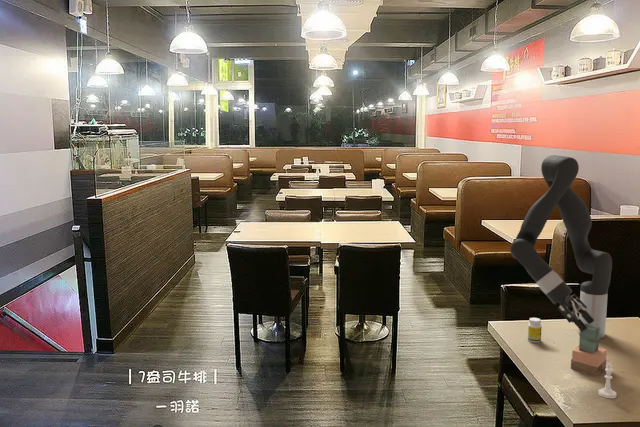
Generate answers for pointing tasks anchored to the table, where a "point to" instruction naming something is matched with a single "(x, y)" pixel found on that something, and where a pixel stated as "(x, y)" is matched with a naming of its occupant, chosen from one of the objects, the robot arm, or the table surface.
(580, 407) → the table surface
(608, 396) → the chess piece
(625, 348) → the table surface
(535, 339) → the supplement bottle
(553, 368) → the table surface
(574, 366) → the walnut base block
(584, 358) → the terracotta top block
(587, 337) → the green pillar block
